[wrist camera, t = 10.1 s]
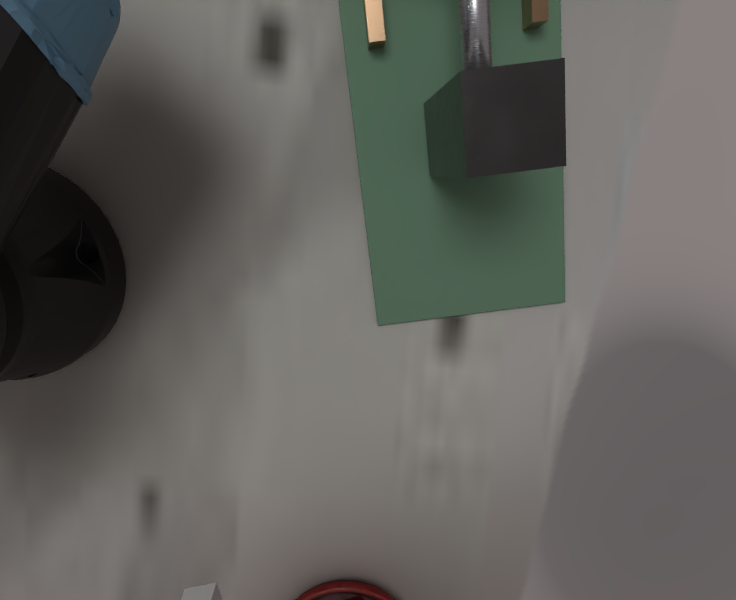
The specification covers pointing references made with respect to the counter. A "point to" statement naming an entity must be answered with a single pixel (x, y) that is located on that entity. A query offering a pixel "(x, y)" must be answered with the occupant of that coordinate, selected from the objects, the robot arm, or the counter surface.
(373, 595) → the plant pot
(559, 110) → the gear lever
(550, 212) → the mat
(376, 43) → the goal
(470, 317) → the counter surface
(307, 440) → the counter surface
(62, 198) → the robot arm
